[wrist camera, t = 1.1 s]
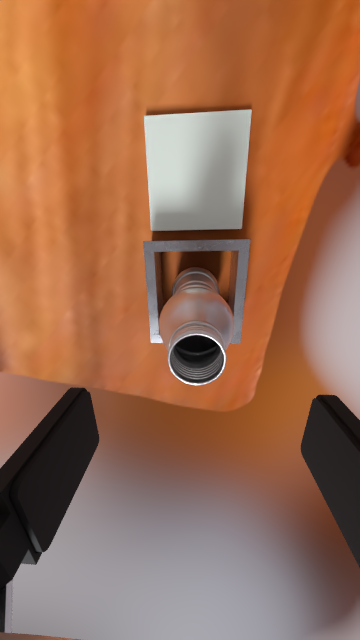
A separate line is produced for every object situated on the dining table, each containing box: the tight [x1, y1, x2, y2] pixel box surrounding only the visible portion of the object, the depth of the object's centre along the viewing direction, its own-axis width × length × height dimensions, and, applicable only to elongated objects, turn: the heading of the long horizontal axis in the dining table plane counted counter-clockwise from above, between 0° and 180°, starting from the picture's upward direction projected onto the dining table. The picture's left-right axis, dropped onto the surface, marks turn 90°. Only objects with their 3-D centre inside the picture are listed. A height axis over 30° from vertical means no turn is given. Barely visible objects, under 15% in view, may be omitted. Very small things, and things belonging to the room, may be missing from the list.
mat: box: [144, 109, 252, 231], centre depth 26 cm, size 12×12×1 cm
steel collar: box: [143, 239, 250, 344], centre depth 29 cm, size 13×12×5 cm
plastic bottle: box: [159, 267, 234, 385], centre depth 22 cm, size 6×7×20 cm
